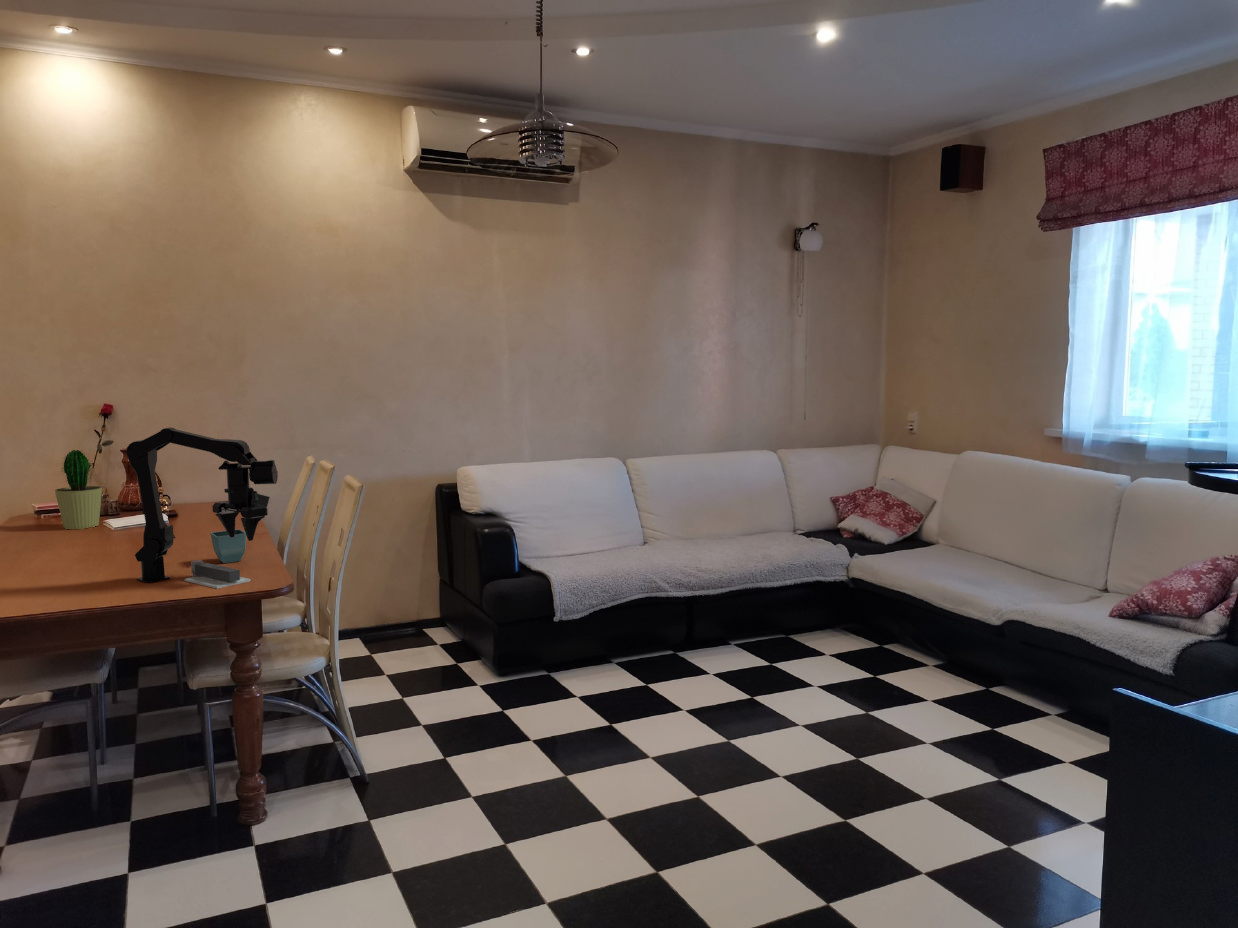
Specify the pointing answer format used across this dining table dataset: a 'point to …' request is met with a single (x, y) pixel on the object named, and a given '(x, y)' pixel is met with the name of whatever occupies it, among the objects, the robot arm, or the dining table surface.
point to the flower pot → (229, 545)
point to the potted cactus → (78, 494)
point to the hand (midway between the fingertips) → (241, 538)
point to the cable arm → (215, 571)
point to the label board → (214, 581)
